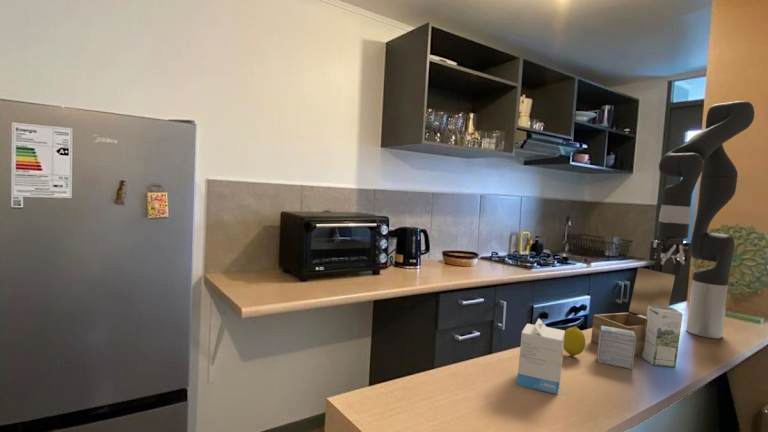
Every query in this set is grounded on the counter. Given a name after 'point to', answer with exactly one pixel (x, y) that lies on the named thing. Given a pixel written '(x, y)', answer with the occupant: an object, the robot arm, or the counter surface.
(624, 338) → the medicine box
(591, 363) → the counter surface
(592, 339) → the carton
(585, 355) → the counter surface
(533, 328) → the ink box
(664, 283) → the lid flap
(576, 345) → the lemon
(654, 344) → the syrup box
